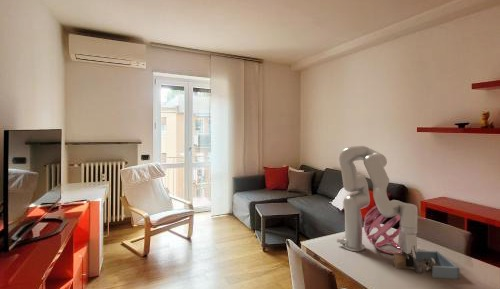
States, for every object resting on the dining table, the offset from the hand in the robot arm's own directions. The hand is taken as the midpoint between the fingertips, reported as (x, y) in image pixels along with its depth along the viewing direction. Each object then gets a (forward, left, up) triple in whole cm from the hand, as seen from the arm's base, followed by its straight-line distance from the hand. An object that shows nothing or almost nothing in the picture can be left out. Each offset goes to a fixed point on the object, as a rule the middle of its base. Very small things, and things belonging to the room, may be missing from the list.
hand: (407, 264), depth 133 cm
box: (+12, 0, -1) cm, 12 cm away
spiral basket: (-2, +22, -2) cm, 22 cm away
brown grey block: (-2, 0, -1) cm, 2 cm away
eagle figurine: (+10, -3, -2) cm, 10 cm away
